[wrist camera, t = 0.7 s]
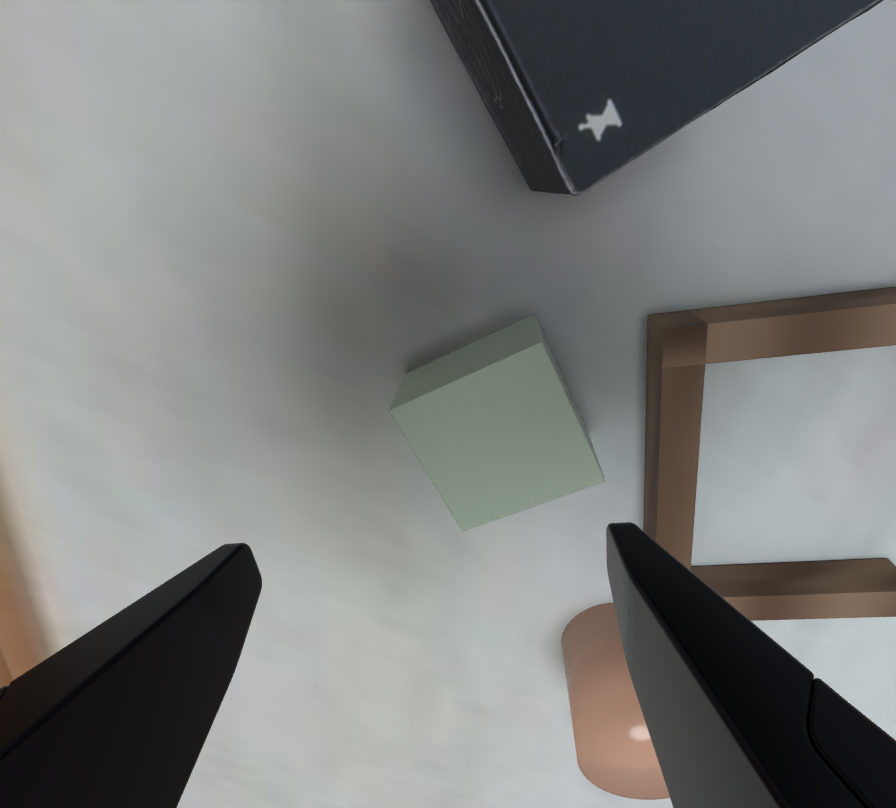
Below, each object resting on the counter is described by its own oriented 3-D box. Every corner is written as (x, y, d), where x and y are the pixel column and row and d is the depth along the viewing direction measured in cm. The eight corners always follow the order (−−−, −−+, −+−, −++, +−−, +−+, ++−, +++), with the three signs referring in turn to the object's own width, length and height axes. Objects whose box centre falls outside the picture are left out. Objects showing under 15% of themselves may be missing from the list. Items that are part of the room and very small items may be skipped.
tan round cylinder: (677, 599, 25) (726, 714, 20) (672, 679, 28) (715, 801, 22) (558, 603, 26) (574, 715, 21) (564, 680, 29) (579, 798, 23)
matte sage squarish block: (533, 312, 20) (541, 341, 16) (587, 431, 22) (605, 480, 18) (407, 371, 22) (388, 410, 18) (467, 477, 24) (462, 531, 20)
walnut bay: (964, 279, 18) (1017, 290, 16) (880, 582, 24) (912, 615, 22) (648, 314, 19) (663, 328, 18) (642, 591, 25) (653, 623, 23)
